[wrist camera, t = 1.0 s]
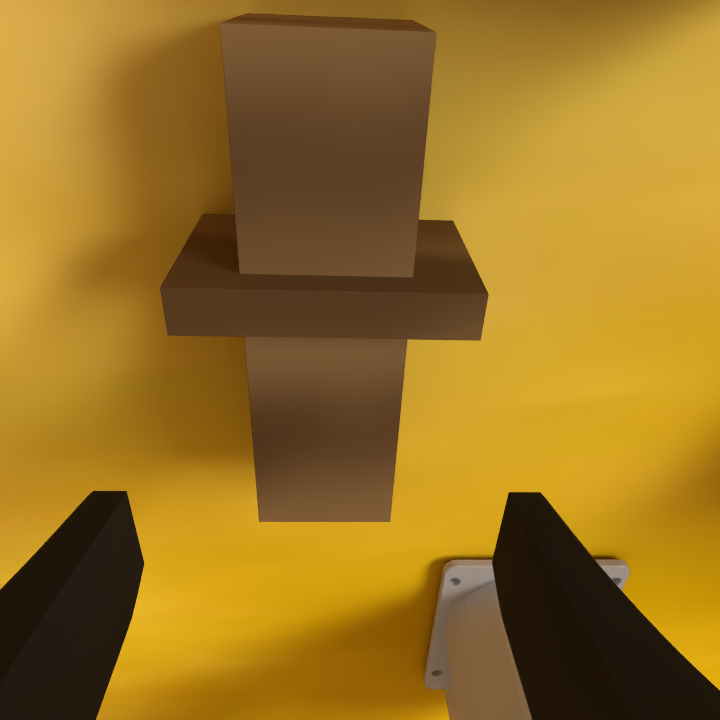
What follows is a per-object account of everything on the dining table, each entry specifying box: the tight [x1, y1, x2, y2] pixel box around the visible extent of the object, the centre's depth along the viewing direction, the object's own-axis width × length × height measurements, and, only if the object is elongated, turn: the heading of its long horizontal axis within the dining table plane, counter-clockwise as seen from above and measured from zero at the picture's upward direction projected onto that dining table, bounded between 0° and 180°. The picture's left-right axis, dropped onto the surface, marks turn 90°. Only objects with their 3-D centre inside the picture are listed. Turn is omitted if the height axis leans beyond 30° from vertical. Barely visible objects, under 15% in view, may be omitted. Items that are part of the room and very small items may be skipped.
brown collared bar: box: [160, 13, 488, 522], centre depth 16 cm, size 13×7×5 cm, turn 178°
